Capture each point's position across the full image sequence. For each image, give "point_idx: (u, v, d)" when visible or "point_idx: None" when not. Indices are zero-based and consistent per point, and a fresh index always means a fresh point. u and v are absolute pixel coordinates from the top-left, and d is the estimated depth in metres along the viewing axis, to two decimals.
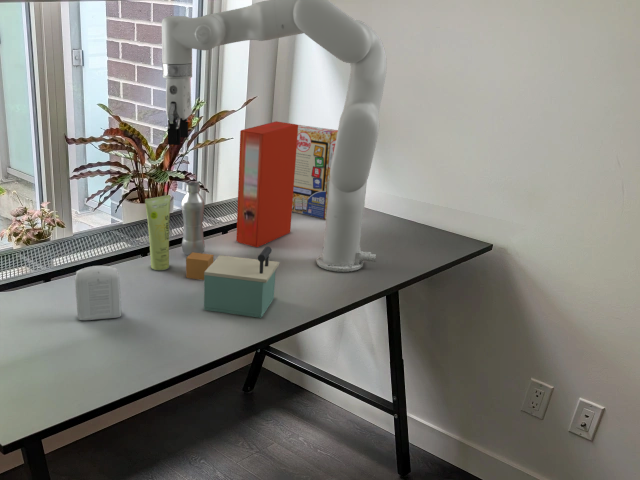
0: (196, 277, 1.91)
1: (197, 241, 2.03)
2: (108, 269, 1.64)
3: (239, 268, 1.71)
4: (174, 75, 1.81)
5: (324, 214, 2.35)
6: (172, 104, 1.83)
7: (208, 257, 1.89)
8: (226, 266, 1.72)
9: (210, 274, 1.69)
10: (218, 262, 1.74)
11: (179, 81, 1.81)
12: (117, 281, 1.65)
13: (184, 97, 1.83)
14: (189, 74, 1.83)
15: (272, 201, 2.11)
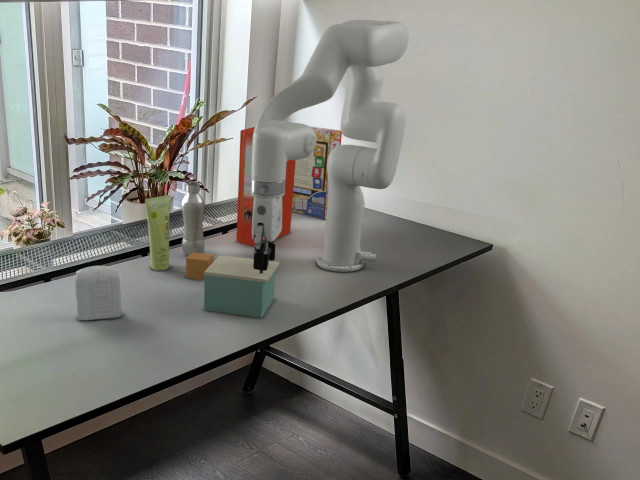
0: (196, 277, 1.91)
1: (197, 241, 2.03)
2: (108, 269, 1.64)
3: (239, 268, 1.71)
4: (263, 194, 1.58)
5: (324, 214, 2.35)
6: (259, 228, 1.60)
7: (208, 257, 1.89)
8: (226, 266, 1.72)
9: (210, 274, 1.69)
10: (218, 262, 1.74)
11: (269, 201, 1.57)
12: (117, 281, 1.65)
13: (273, 218, 1.59)
14: (281, 192, 1.59)
15: None
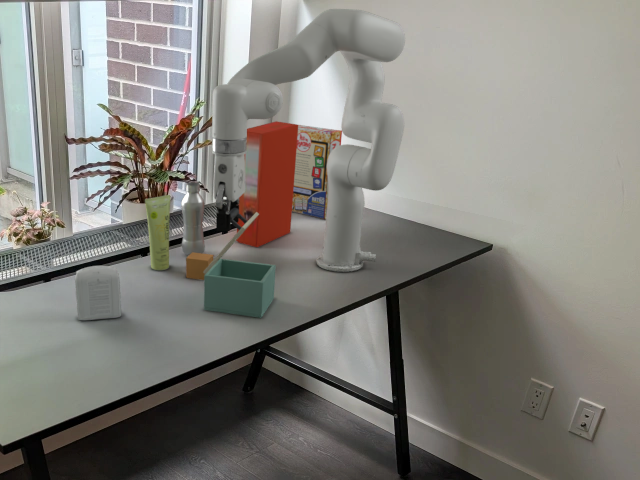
0: (196, 277, 1.91)
1: (197, 241, 2.03)
2: (108, 269, 1.64)
3: None
4: (224, 152, 1.56)
5: (324, 214, 2.35)
6: (221, 187, 1.59)
7: (208, 257, 1.89)
8: None
9: (208, 269, 1.68)
10: None
11: (229, 159, 1.56)
12: (117, 281, 1.65)
13: (234, 177, 1.58)
14: (242, 151, 1.57)
15: (272, 201, 2.11)
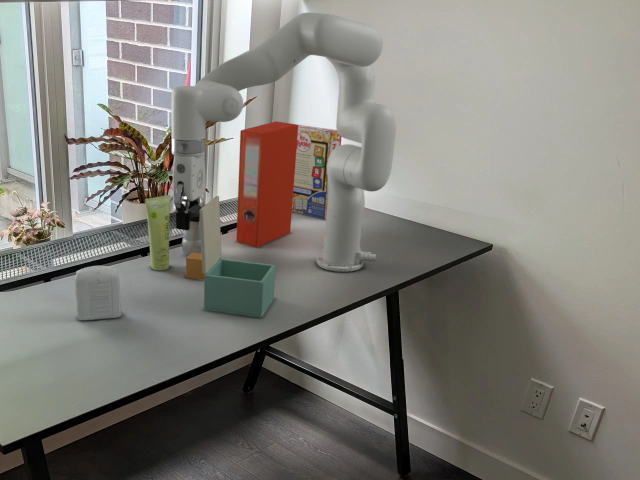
0: (196, 277, 1.91)
1: (197, 241, 2.03)
2: (108, 269, 1.64)
3: None
4: (182, 152, 1.60)
5: (324, 214, 2.35)
6: (179, 187, 1.62)
7: None
8: None
9: (204, 267, 1.68)
10: None
11: (187, 159, 1.59)
12: (117, 281, 1.65)
13: (192, 177, 1.61)
14: (200, 151, 1.61)
15: (272, 201, 2.11)
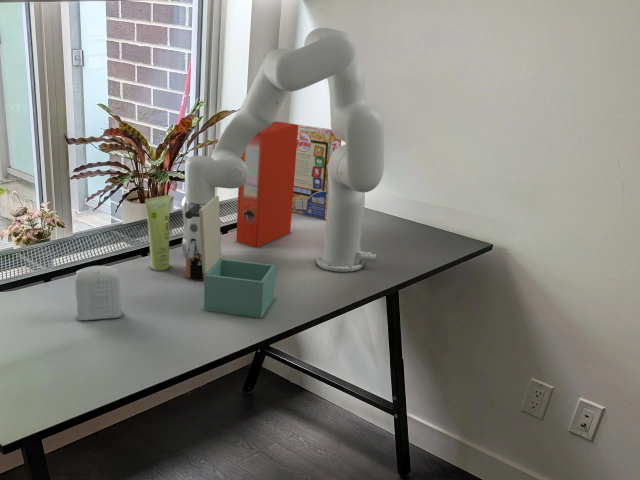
0: None
1: None
2: (108, 269, 1.64)
3: None
4: None
5: (324, 214, 2.35)
6: (192, 244, 1.83)
7: None
8: None
9: (204, 267, 1.68)
10: None
11: (199, 220, 1.81)
12: (117, 281, 1.65)
13: None
14: None
15: (272, 201, 2.11)
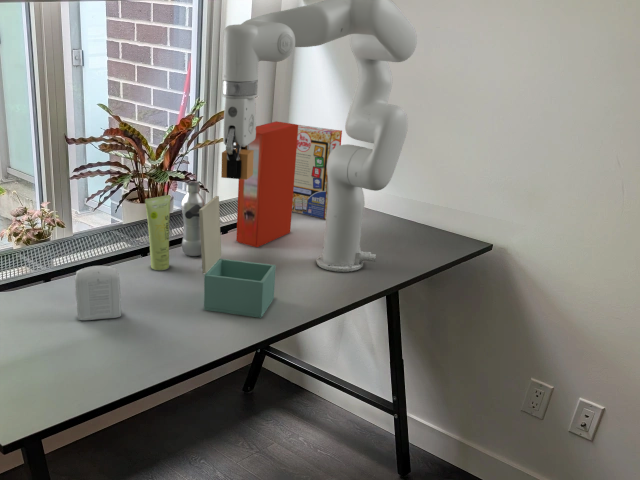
0: None
1: (197, 241, 2.03)
2: (108, 269, 1.64)
3: None
4: (234, 94, 1.53)
5: (324, 214, 2.35)
6: (231, 132, 1.55)
7: (248, 152, 1.61)
8: None
9: (204, 267, 1.68)
10: None
11: (240, 102, 1.52)
12: (117, 281, 1.65)
13: (244, 120, 1.54)
14: (253, 93, 1.54)
15: (272, 201, 2.11)
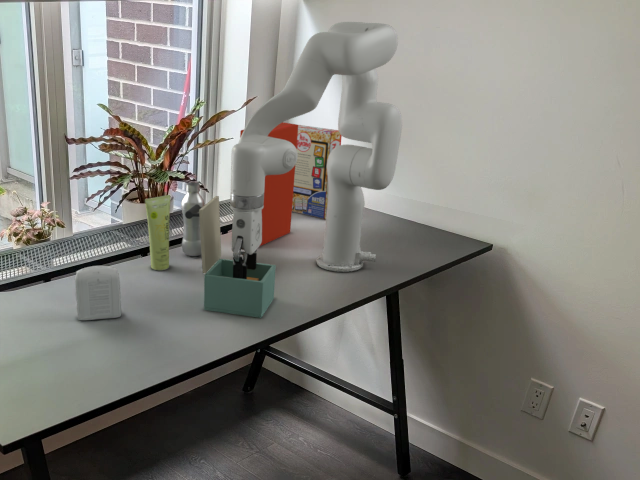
0: None
1: (197, 241, 2.03)
2: (108, 269, 1.64)
3: None
4: (242, 208, 1.61)
5: (324, 214, 2.35)
6: (238, 240, 1.63)
7: None
8: None
9: (204, 267, 1.68)
10: None
11: (247, 215, 1.60)
12: (117, 281, 1.65)
13: (252, 231, 1.62)
14: (260, 206, 1.62)
15: (272, 201, 2.11)
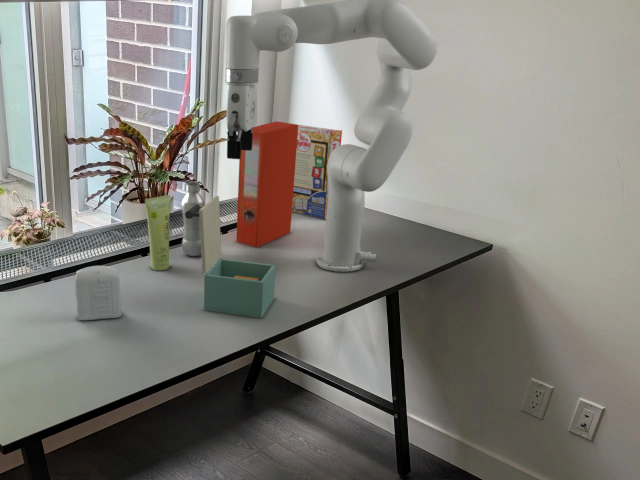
0: None
1: (197, 241, 2.03)
2: (108, 269, 1.64)
3: None
4: (237, 81, 1.62)
5: (324, 214, 2.35)
6: (233, 114, 1.64)
7: None
8: None
9: (204, 267, 1.68)
10: None
11: (242, 88, 1.62)
12: (117, 281, 1.65)
13: (247, 106, 1.63)
14: (254, 81, 1.63)
15: (272, 201, 2.11)
